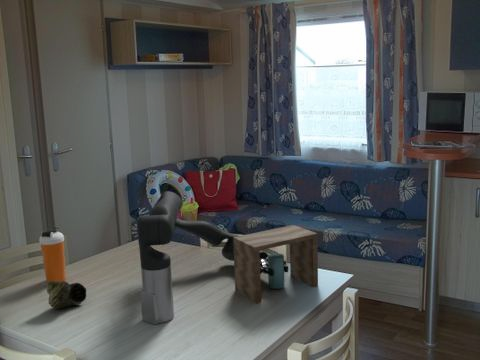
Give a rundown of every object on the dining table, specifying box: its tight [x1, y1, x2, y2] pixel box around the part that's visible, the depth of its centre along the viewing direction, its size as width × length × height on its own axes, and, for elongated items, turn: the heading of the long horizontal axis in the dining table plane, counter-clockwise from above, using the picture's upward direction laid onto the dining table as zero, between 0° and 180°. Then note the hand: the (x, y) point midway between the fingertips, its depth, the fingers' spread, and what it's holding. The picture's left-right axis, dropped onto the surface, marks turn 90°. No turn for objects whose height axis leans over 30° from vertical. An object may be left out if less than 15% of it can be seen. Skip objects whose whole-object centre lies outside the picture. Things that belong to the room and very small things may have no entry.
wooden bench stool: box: [233, 224, 319, 304], centre depth 187 cm, size 14×26×20 cm, turn 120°
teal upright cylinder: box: [267, 252, 285, 289], centre depth 187 cm, size 6×6×11 cm
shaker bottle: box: [38, 227, 67, 282], centre depth 203 cm, size 9×9×20 cm
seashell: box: [45, 280, 87, 310], centre depth 178 cm, size 11×11×10 cm
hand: (280, 271), depth 185 cm, fingers closed on teal upright cylinder, 5 cm apart
